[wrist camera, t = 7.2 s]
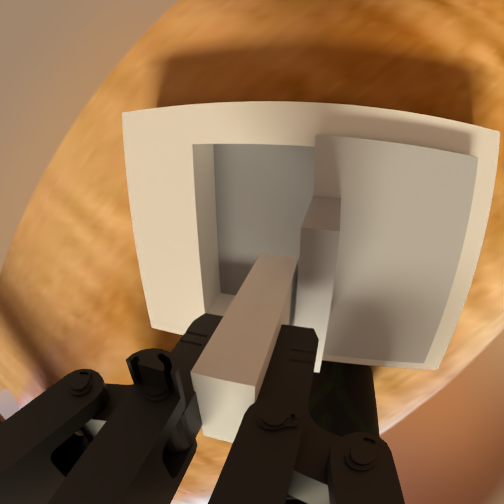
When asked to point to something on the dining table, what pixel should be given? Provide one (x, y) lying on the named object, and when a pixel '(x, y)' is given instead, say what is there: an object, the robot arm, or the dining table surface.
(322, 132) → the socket board
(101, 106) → the dining table surface
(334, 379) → the cup
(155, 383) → the robot arm
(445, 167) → the panel
